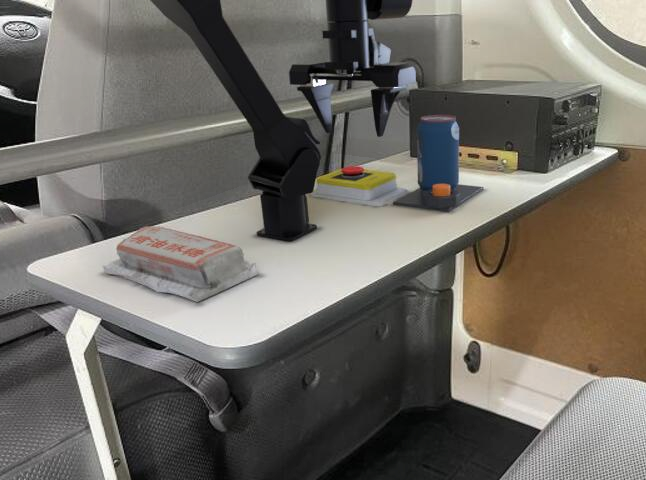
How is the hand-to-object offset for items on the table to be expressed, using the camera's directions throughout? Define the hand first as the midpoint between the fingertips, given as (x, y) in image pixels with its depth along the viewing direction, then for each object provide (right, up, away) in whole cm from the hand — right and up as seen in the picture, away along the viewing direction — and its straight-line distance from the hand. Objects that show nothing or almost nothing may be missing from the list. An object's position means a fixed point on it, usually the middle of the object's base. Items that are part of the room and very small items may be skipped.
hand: (354, 134), depth 95 cm
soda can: (+14, -6, +13) cm, 20 cm away
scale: (+14, -8, +10) cm, 19 cm away
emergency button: (0, -7, +14) cm, 16 cm away
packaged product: (-21, -22, -16) cm, 34 cm away
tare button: (+14, -8, +5) cm, 17 cm away
